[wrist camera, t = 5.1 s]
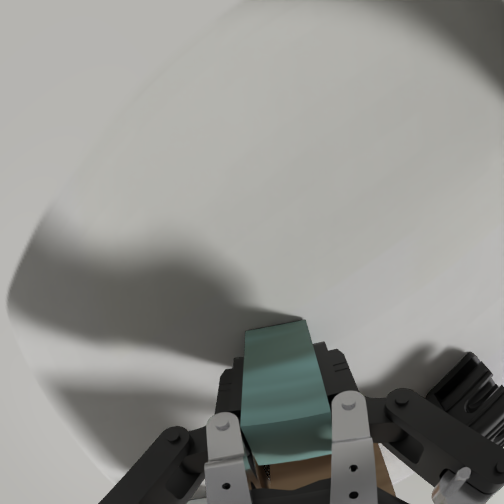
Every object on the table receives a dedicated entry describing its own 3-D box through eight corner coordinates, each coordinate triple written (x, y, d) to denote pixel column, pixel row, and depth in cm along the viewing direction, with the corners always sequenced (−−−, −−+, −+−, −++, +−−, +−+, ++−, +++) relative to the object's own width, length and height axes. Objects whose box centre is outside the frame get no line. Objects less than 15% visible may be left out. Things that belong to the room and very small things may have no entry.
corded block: (226, 334, 14) (211, 428, 8) (325, 315, 14) (360, 404, 8) (279, 479, 19) (282, 534, 13) (335, 469, 19) (346, 523, 13)
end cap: (397, 413, 17) (427, 482, 10) (468, 346, 15) (519, 405, 8) (442, 436, 18) (466, 484, 12) (496, 386, 17) (529, 430, 10)
